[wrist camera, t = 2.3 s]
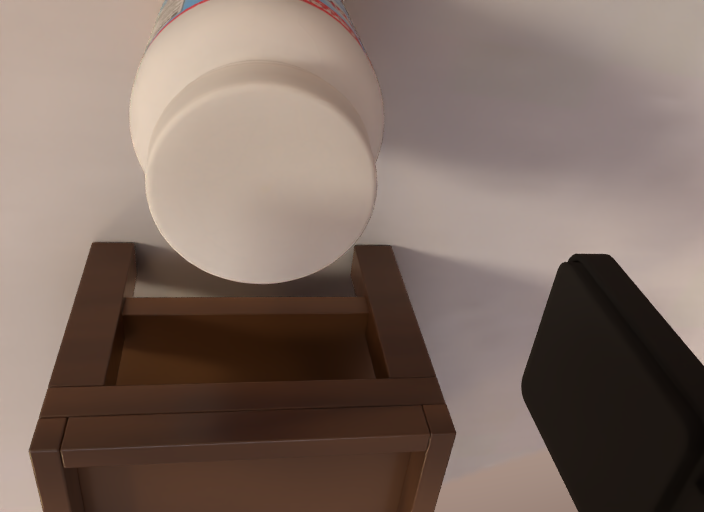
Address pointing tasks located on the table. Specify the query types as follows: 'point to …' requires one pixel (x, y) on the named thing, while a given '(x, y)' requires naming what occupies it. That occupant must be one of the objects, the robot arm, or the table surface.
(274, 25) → the pill bottle
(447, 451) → the rack
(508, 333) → the table surface
